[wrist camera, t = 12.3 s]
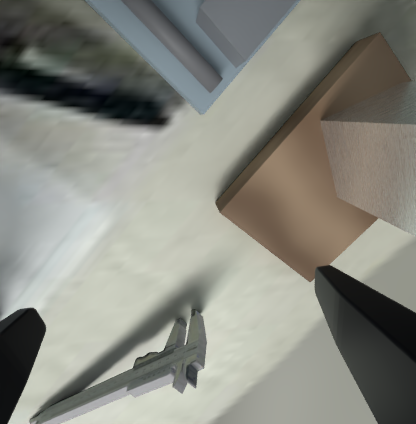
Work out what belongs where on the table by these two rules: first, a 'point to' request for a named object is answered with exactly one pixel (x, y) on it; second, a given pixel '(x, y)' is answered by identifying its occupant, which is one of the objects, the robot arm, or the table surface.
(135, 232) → the table surface
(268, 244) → the walnut board
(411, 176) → the steel sleeve
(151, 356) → the caliper
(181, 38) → the vise
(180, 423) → the table surface
